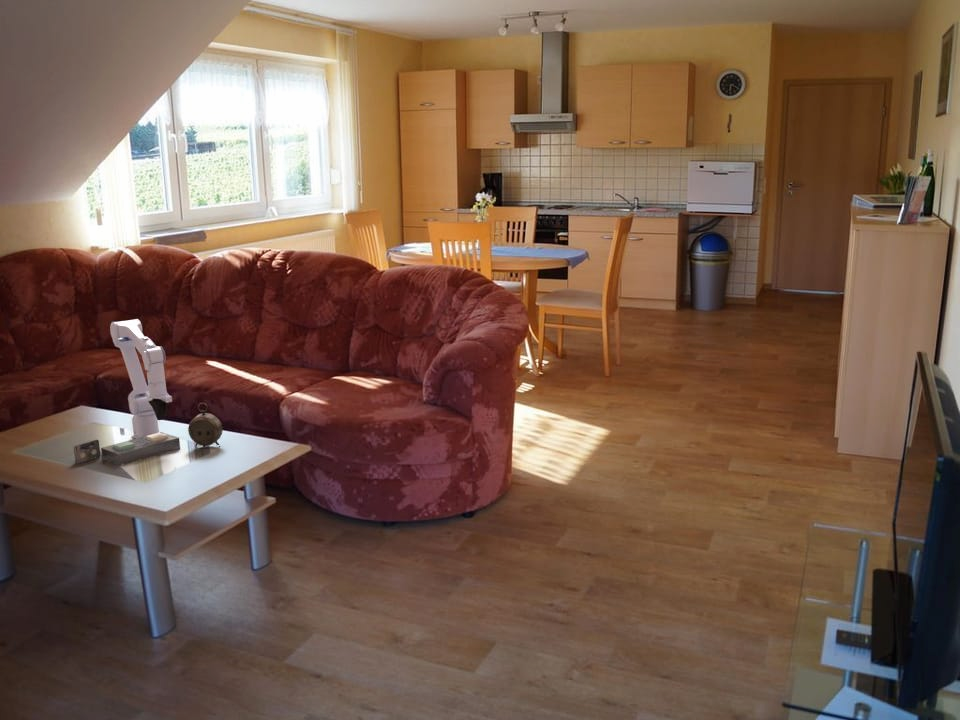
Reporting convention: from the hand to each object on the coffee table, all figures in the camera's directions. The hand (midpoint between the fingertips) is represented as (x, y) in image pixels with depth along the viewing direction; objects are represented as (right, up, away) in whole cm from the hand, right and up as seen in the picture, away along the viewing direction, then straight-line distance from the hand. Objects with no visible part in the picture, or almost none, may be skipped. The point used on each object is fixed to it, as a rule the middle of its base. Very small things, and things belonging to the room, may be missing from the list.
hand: (161, 419), depth 304 cm
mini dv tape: (-21, -13, -11) cm, 27 cm away
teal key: (-8, -11, -12) cm, 18 cm away
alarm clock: (+17, -10, -3) cm, 20 cm away
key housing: (-4, -11, -7) cm, 14 cm away
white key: (0, -9, -3) cm, 10 cm away
